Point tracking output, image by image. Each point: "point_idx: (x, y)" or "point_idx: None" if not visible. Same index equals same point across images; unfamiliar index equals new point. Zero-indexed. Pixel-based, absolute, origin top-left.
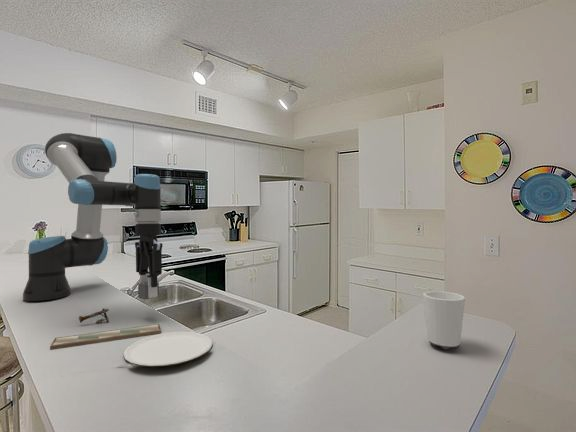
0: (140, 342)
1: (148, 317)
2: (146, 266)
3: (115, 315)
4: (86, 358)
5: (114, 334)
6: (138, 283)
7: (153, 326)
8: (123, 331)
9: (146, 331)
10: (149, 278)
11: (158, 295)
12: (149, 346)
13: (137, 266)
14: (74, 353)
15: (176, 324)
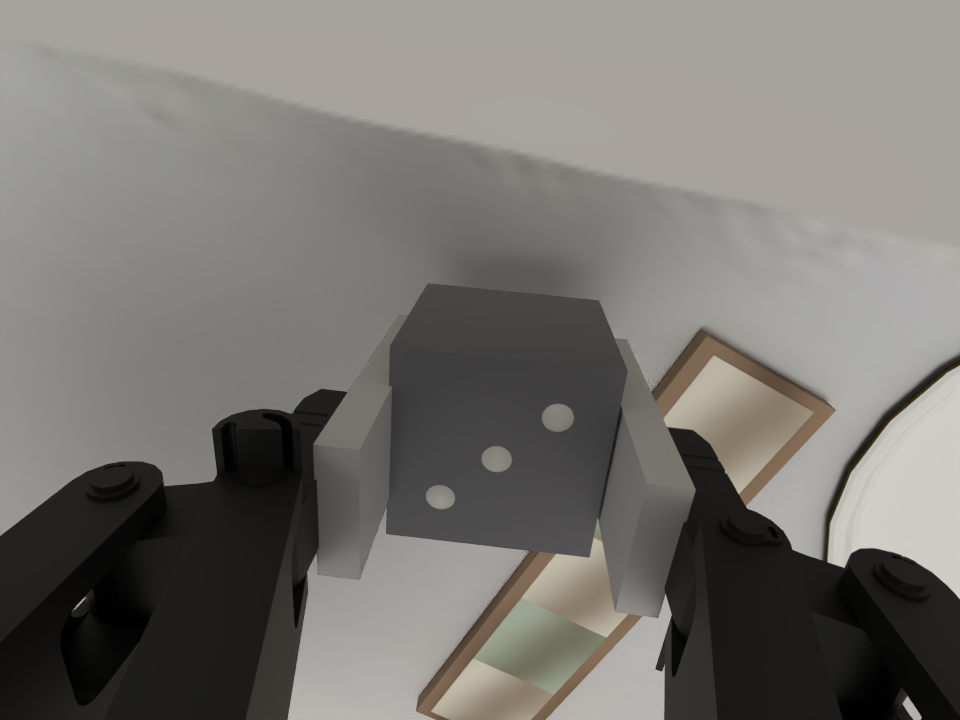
0: (847, 555)
1: (428, 245)
2: (276, 623)
3: (182, 359)
4: None
5: None
6: (395, 533)
7: (718, 393)
8: None
9: (757, 469)
10: (656, 596)
11: (601, 311)
12: (922, 546)
13: (105, 699)
14: (646, 715)
15: (788, 223)
